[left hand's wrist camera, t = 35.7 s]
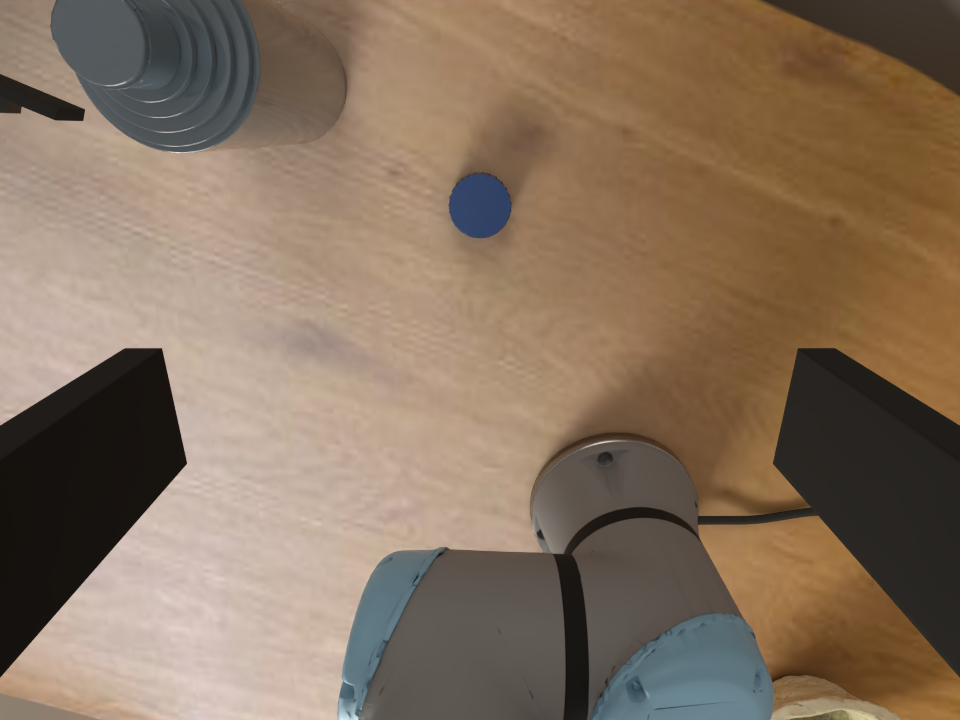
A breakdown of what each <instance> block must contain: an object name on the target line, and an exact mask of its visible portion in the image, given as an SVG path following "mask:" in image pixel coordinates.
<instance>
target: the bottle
mask: <svg viewBox="0 0 960 720" xmlns="http://www.w3.org/2000/svg"><path fill="white" fill-rule="evenodd" d="M50 26H51V31H52V37H53V40H55V42H56V45H57V47H58V50H59V52H60V53H61V55H62V57H63V58H64V60H65V61H66V63H67V64H68V65H69V66H70V67H71V68H72V69H73V70H74V71H75V72H76V75H77V77H78V79H79V81H80V83H81V85H82V87H83V89H84V90H85V92H86V94H87V96H88V97H89V98H90V100H91V101H92V103H93V104H94V105H95V107H96V108H97V109H98V110H99V111H100V112H101V114H102V115H103V116H104V117H105V118H106V119H107V120H108V121H109V122H110V123H112V124H113V125H114V126H115V127H116V128H117V129H119V130H120V131H121V132H123V133H124V134H125V135H127V136H128V137H130V138H132V139H134V140H135V141H137V142H139V143H141V144H143V145H146V146H148V147H150V148H154V149H157V150H161V151H165V152H171V153H196V152H208V151H220V150H231V149H243V148H255V147H266V146H278V145H290V144H300V143H306V142H310V141H313V140H315V139H318V138H319V137H321V136H322V135H324V134H325V133H326V132H328V131H329V130H330V129H331V128H332V127H333V125H334V124H335V123H336V121H337V120H338V118H339V116H340V114H341V112H342V109H343V106H344V102H345V97H346V78H345V73H344V69H343V65H342V62H341V60H340V57H339V55H338V53H337V51H336V50H335V48H334V46H333V45H332V44H331V42H330V41H329V40H328V38H327V37H326V36H325V35H324V34H323V33H322V32H320V31H319V30H318V29H317V28H316V27H314V26H313V25H311V24H309V23H308V22H306V21H305V20H303V19H301V18H300V17H298V16H296V15H295V14H293V13H292V12H290V11H288V10H287V9H285V8H283V7H282V6H280V5H279V4H277V3H275V2H274V1H272V0H56V2H55V5H54V8H53V11H52V15H51V25H50Z"/></svg>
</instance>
